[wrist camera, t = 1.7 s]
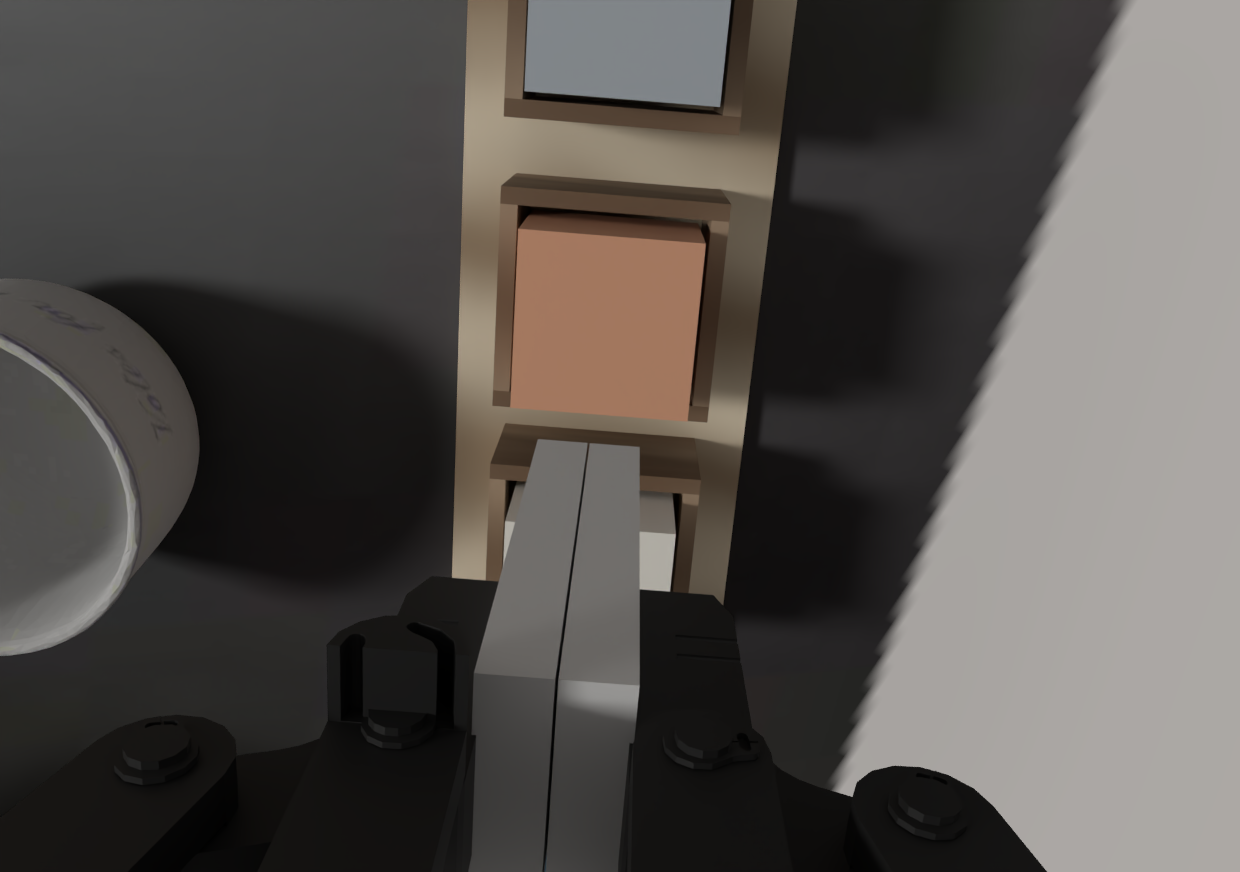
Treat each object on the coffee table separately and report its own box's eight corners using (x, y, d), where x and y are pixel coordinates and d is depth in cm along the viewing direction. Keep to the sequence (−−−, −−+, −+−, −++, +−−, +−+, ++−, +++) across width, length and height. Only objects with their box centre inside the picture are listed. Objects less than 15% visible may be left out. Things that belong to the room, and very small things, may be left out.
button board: (718, 631, 40) (727, 699, 36) (453, 611, 40) (431, 676, 35) (812, -142, 31) (839, -175, 27) (475, -170, 31) (449, -207, 27)
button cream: (658, 618, 36) (660, 682, 32) (512, 607, 36) (498, 669, 32) (671, 483, 35) (675, 534, 31) (519, 472, 35) (505, 520, 31)
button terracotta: (682, 382, 33) (687, 421, 30) (524, 369, 33) (510, 407, 30) (697, 223, 32) (705, 243, 28) (532, 210, 32) (518, 228, 28)
